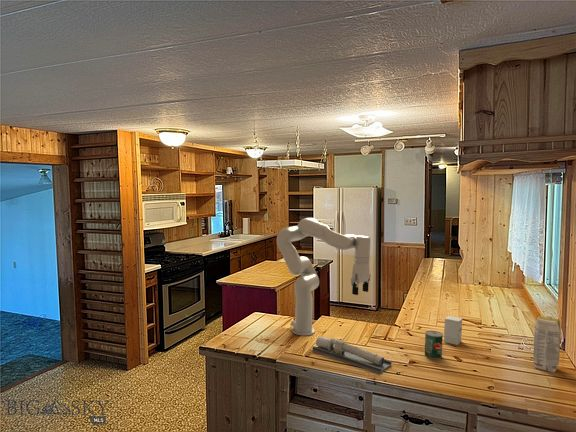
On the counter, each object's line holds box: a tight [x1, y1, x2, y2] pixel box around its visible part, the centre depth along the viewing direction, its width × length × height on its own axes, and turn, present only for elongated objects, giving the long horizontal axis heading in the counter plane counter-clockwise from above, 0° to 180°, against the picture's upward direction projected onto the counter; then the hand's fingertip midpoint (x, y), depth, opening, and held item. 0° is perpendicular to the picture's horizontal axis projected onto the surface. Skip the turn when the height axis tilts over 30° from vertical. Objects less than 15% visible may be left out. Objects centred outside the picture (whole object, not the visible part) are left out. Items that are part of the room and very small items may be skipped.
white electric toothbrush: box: [333, 338, 385, 366], centre depth 179 cm, size 5×7×25 cm
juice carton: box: [532, 314, 562, 373], centre depth 174 cm, size 9×8×24 cm
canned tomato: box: [424, 330, 444, 360], centre depth 186 cm, size 8×8×11 cm
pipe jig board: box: [312, 335, 392, 375], centre depth 181 cm, size 36×11×7 cm, turn 50°
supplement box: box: [443, 315, 463, 346], centre depth 205 cm, size 7×7×13 cm
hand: (360, 292), depth 199 cm, fingers open, 9 cm apart
